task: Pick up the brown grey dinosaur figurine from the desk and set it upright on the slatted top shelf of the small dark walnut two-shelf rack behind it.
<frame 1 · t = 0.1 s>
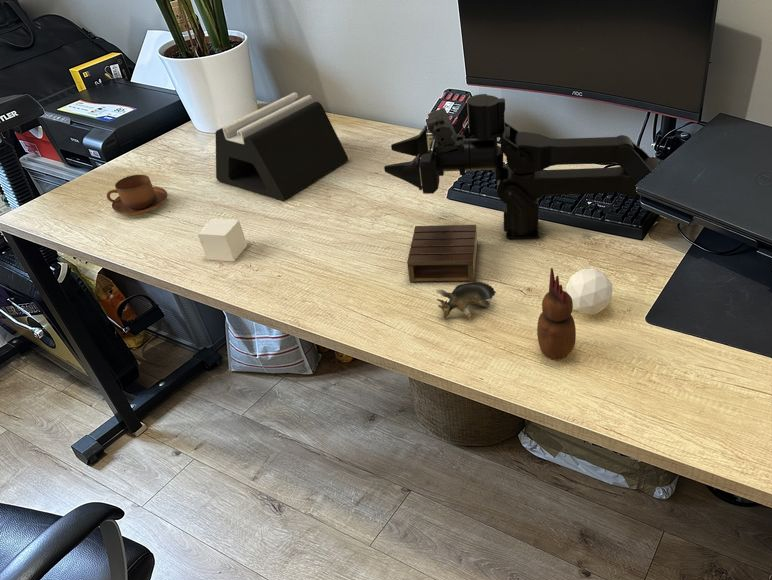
hand: (388, 157, 124), 17 cm above the table, tool horizontal, fingers open, 9 cm apart
cup and saucer: (143, 207, 150), on the table
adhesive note: (227, 253, 133), on the table
rack: (444, 262, 126), on the table
device stand: (284, 172, 160), on the table
wooden figurine: (555, 352, 105), on the table
brown grey dinosaur figurine: (466, 313, 114), on the table
geometric ball: (587, 309, 112), on the table
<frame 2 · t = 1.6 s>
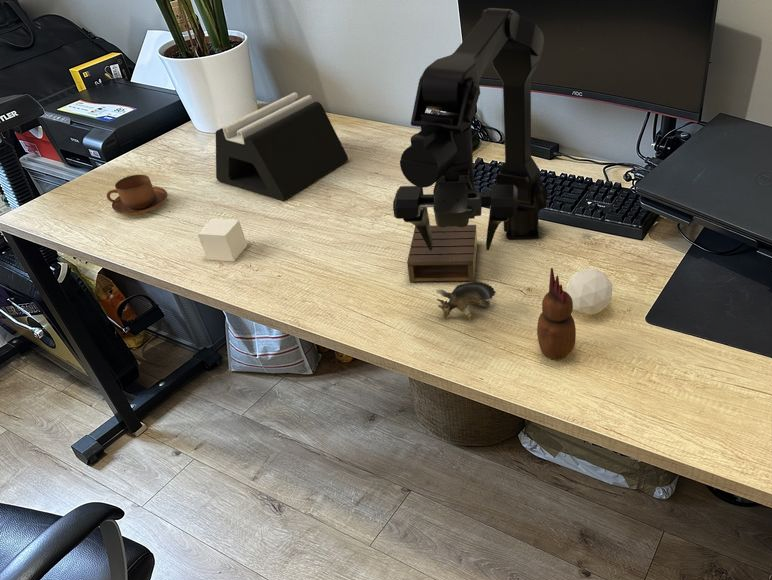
hand: (459, 249, 105), 13 cm above the table, tool pointing down, fingers open, 9 cm apart
nothing on the table moved.
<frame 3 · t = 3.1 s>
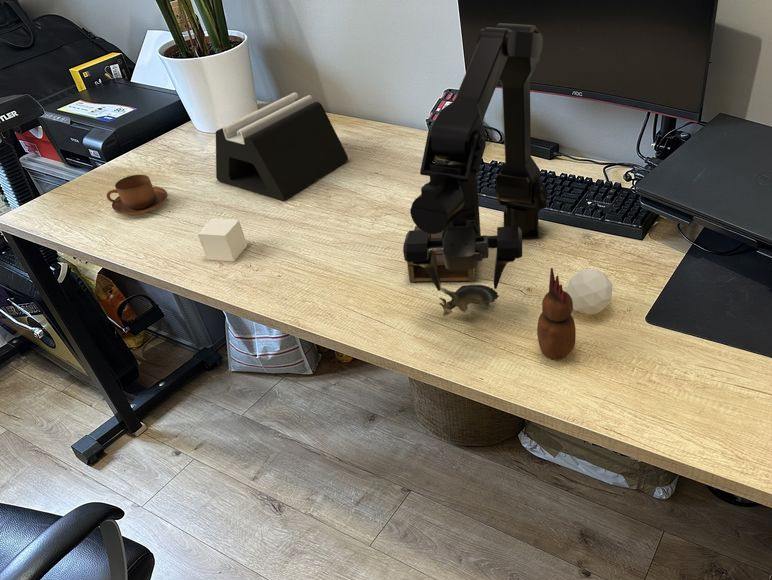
hand: (467, 288, 109), 6 cm above the table, tool pointing down
brown grey dinosaur figurine: (465, 311, 114), on the table, touching gripper
everything else where it was.
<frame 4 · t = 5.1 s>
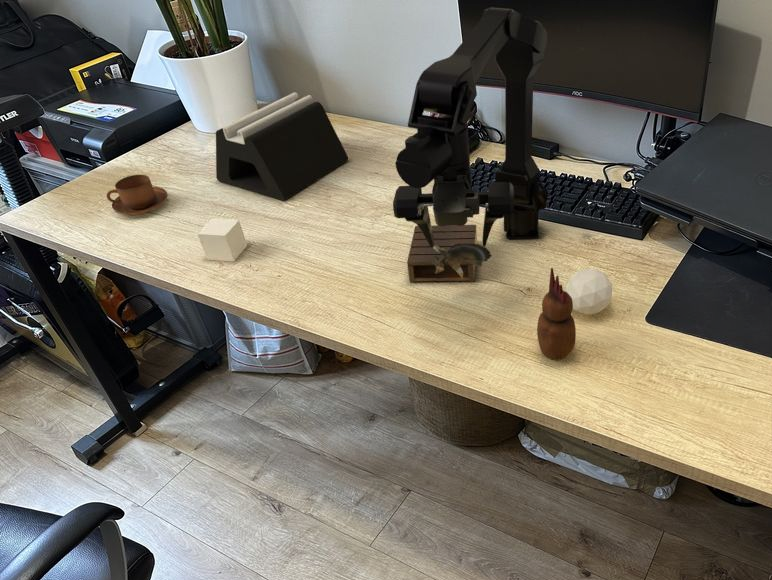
hand: (458, 245, 108), 12 cm above the table, tool pointing down, fingers closed on brown grey dinosaur figurine, 8 cm apart
brown grey dinosaur figurine: (457, 270, 113), point 6 cm above the table, touching gripper
everything else where it was.
when the fingers open (10 cm above the table, at t = 7.2 s): brown grey dinosaur figurine stays where it is, resting on rack.
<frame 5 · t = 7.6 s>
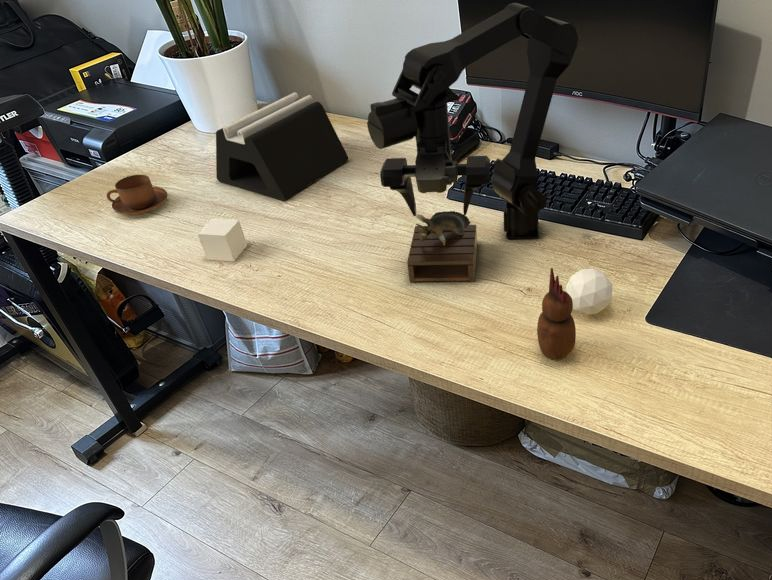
hand: (440, 214, 119), 10 cm above the table, tool pointing down, fingers open, 9 cm apart
brown grey dinosaur figurine: (441, 238, 123), point 5 cm above the table, touching gripper, rack
everything else where it was.
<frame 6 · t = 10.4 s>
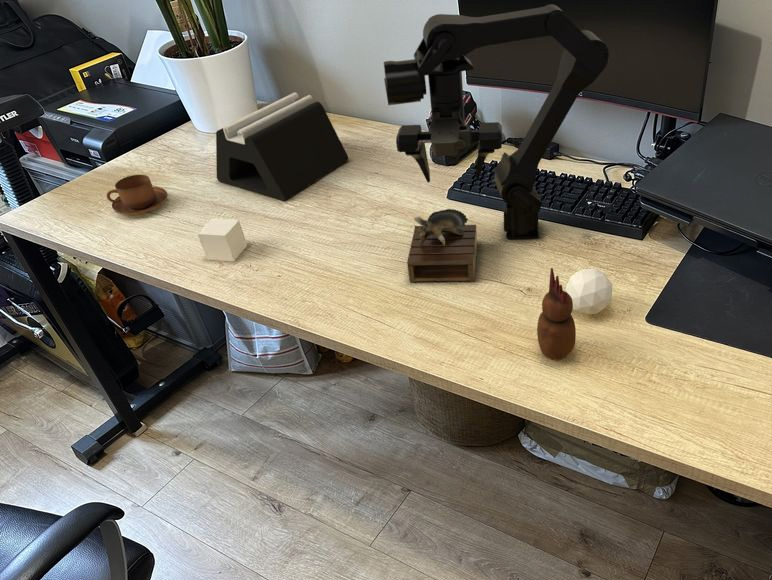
hand: (453, 180, 123), 13 cm above the table, tool pointing down, fingers open, 9 cm apart
brown grey dinosaur figurine: (441, 240, 124), point 4 cm above the table, touching rack
everything else where it was.
at the end: brown grey dinosaur figurine inside the target area on the rack (1.1 cm from its centre), point 4.3 cm above the rack's base; brown grey dinosaur figurine tilted 1°; the gripper is holding nothing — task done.
